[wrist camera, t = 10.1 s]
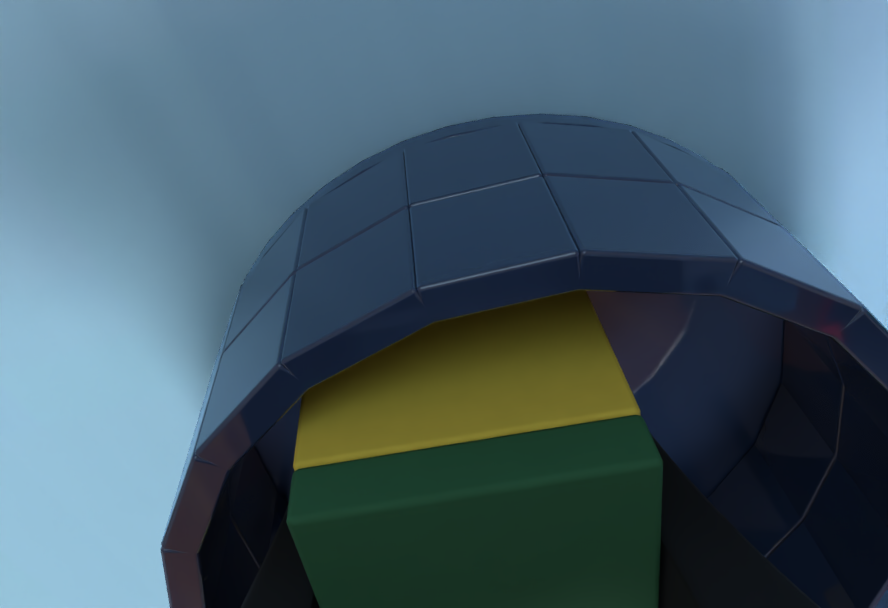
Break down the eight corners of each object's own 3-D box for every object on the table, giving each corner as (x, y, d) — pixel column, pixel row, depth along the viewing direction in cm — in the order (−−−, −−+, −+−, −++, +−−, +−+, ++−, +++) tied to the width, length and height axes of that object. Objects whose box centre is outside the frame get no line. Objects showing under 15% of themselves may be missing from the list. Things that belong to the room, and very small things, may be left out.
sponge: (577, 266, 11) (666, 461, 8) (589, 531, 14) (656, 749, 11) (310, 310, 11) (283, 522, 8) (385, 564, 14) (388, 790, 11)
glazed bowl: (919, 247, 13) (1136, 413, 10) (610, 608, 18) (671, 808, 15) (338, -6, 10) (317, 92, 6) (163, 512, 15) (95, 734, 12)
